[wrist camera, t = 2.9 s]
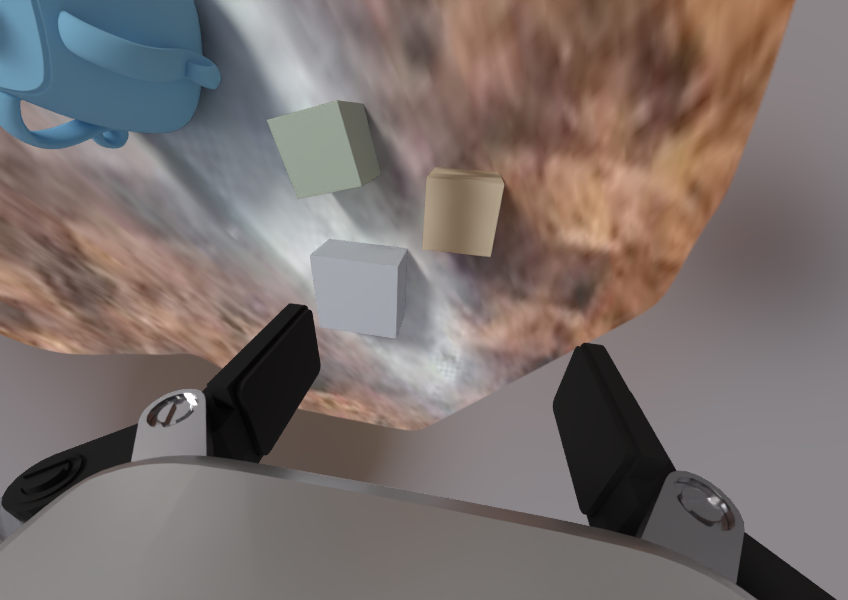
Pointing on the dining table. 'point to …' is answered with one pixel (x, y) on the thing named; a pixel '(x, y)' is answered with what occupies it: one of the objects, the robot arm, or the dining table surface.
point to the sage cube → (326, 148)
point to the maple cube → (462, 210)
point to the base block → (360, 287)
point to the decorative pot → (101, 67)
